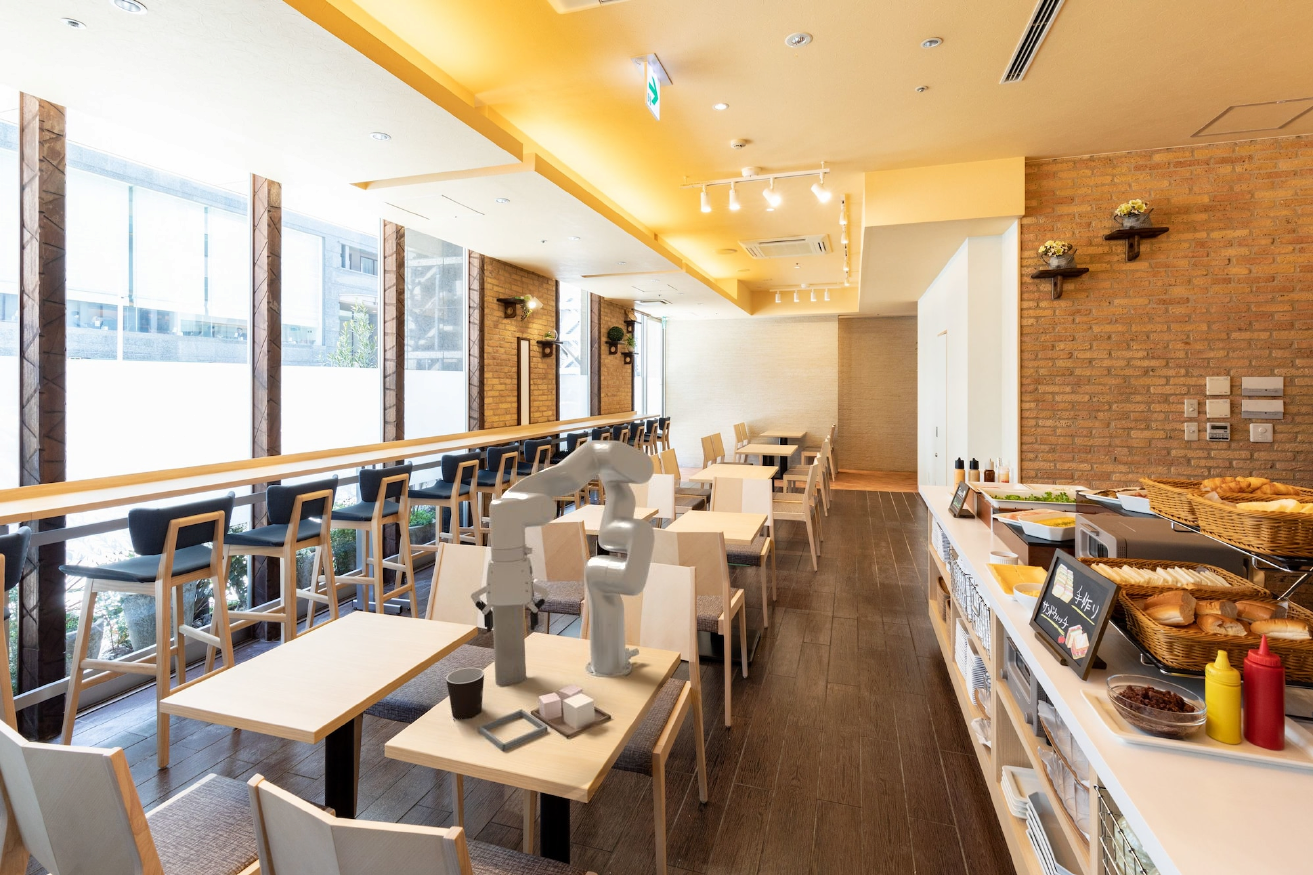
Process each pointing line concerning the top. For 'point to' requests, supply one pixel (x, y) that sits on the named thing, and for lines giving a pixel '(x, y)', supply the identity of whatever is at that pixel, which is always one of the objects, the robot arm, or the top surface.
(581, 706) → the cream white cube
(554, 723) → the walnut tray
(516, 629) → the thermos bottle
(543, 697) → the small marshmallow
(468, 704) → the coffee mug
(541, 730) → the slate dish
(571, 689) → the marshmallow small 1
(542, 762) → the top surface
